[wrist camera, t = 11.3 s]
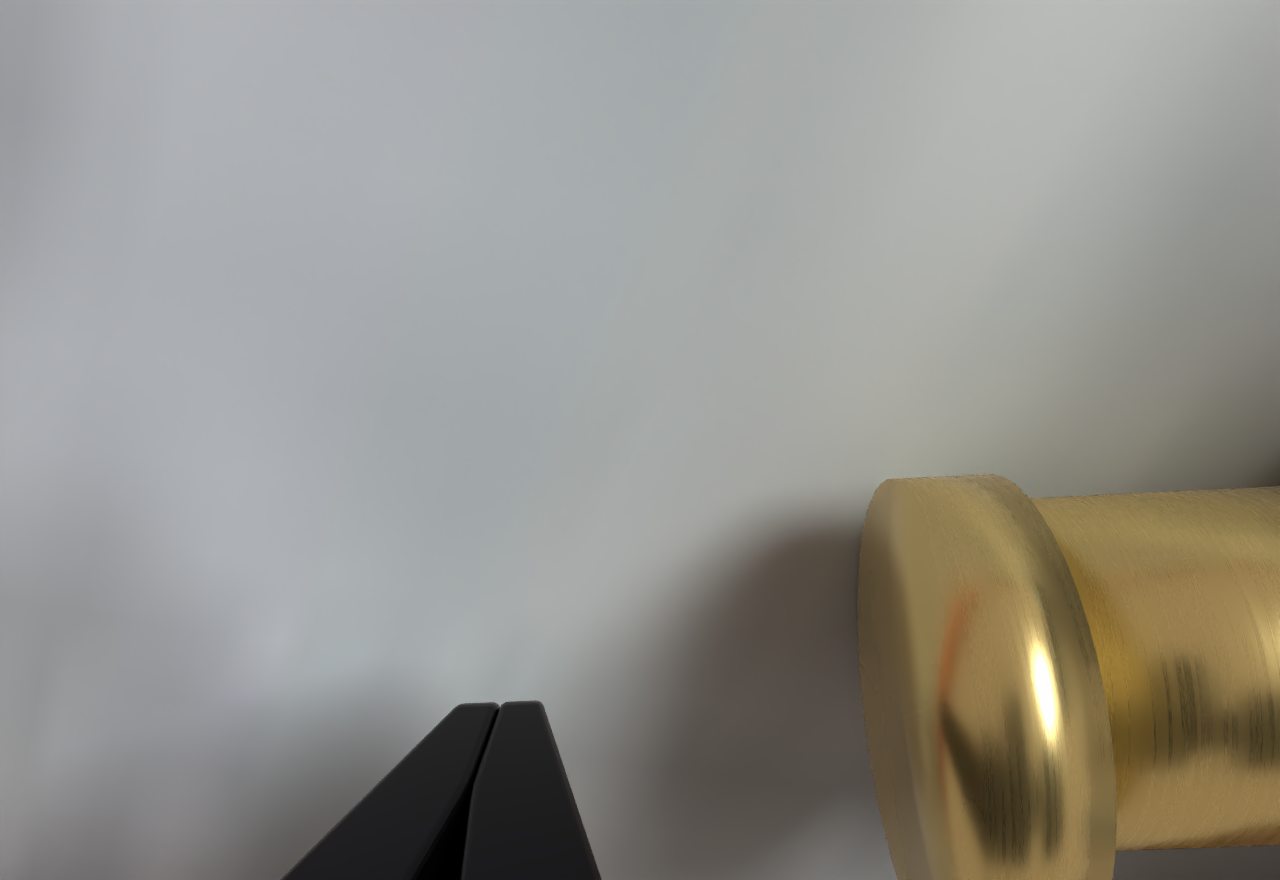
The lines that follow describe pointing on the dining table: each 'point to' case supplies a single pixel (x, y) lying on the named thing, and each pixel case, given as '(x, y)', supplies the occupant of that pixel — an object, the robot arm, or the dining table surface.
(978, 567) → the brass bolt
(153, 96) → the dining table surface
